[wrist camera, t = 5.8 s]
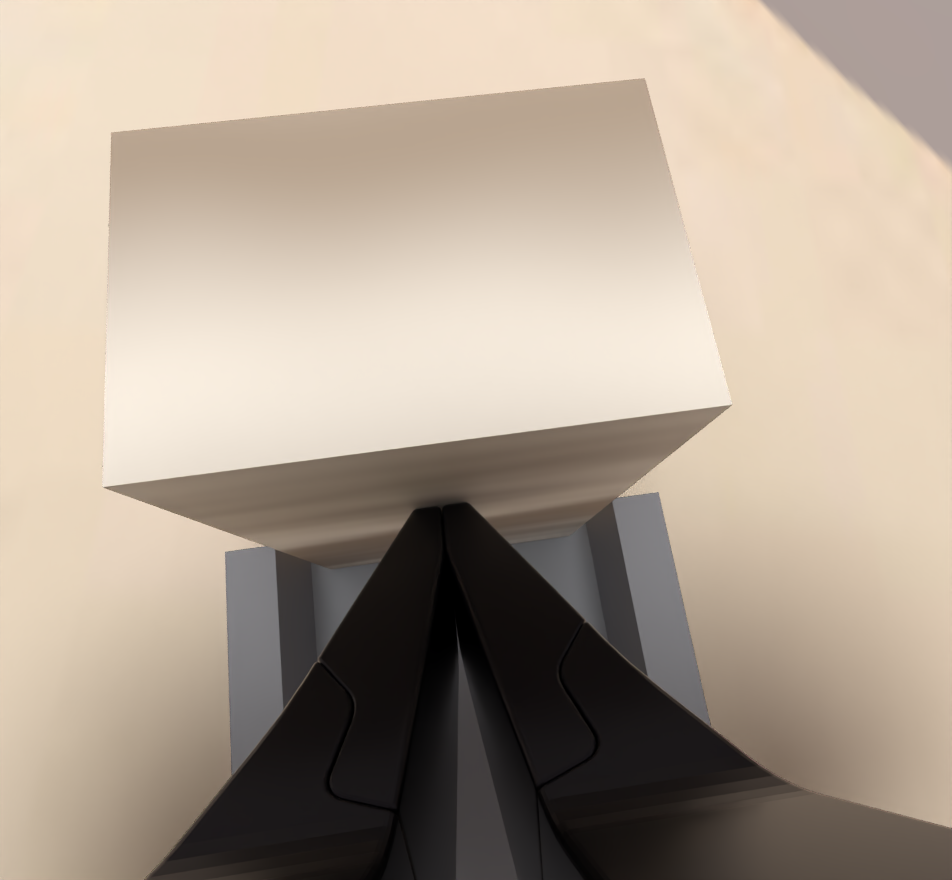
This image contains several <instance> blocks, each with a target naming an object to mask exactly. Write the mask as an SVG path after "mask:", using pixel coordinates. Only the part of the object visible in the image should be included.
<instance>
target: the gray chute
mask: <svg viewBox="0 0 952 880" xmlns="http://www.w3.org/2000/svg"><path fill="white" fill-rule="evenodd" d="M511 545H512V546H513V547H514V548H515V549H516V550H517V551H518V552H519V553H520V554H521V555H522V556H523V557H524V558H525V559H526V560H527V561H528V562H529V563H530V564H531V565H532V566H533V567H534V568H535V569H536V570H537V571H538V572H539V573H540V574H541V575H542V576H543V577H544V578H545V579H546V580H547V581H548V582H549V583H550V584H551V585H552V586H553V587H554V588H555V589H556V590H557V591H558V592H559V593H560V594H561V595H562V596H563V597H564V598H565V599H566V600H567V601H568V602H569V603H570V604H571V605H572V606H573V607H574V608H575V609H576V610H577V611H578V612H579V613H580V614H581V615H582V616H583V617H584V618H585V620H586V622H588V623H590V624H591V625H592V626H593V627H594V628H595V629H596V630H597V631H598V632H599V633H600V634H601V635H602V636H603V637H604V638H605V639H606V640H607V641H608V642H609V643H610V644H611V645H612V646H613V647H614V648H616V649H617V650H618V651H619V652H620V653H621V654H622V655H623V656H624V657H625V658H626V659H627V660H628V661H629V662H630V663H632V664H633V665H634V666H635V667H637V668H638V669H639V670H640V671H641V672H643V673H644V674H645V675H646V676H647V677H649V678H650V679H651V680H652V681H653V682H655V683H656V684H657V685H658V686H660V687H661V688H662V689H663V690H665V691H666V692H667V693H668V694H670V695H671V696H672V697H673V698H675V699H676V700H677V701H679V702H680V703H681V704H682V705H684V706H685V707H686V708H688V709H689V710H690V711H691V712H693V713H694V714H695V715H697V716H698V717H699V718H700V719H702V720H703V721H704V722H705V723H707V724H708V725H709V726H711V724H710V720H709V715H708V711H707V707H706V702H705V698H704V693H703V689H702V684H701V680H700V675H699V671H698V667H697V662H696V658H695V653H694V649H693V644H692V640H691V635H690V631H689V626H688V622H687V618H686V613H685V609H684V604H683V600H682V595H681V591H680V586H679V582H678V578H677V573H676V569H675V564H674V560H673V555H672V551H671V546H670V542H669V537H668V533H667V529H666V524H665V520H664V515H663V511H662V506H661V502H660V497H659V493H658V492H657V493H650V494H642V495H635V496H628V497H620V498H616V499H615V500H613V501H612V502H611V503H610V504H608V505H607V506H606V507H605V508H603V509H602V510H601V511H600V512H598V513H597V514H596V515H595V516H593V517H592V518H591V519H590V520H588V521H587V522H586V523H585V524H583V525H582V526H581V527H580V528H578V529H577V530H576V531H575V532H573V533H572V534H571V535H570V536H565V537H558V538H551V539H544V540H537V541H529V542H522V543H515V544H511ZM225 564H226V598H227V633H228V667H229V701H230V736H231V770H232V775H233V774H234V773H235V771H236V770H237V769H238V768H239V766H240V765H241V764H242V763H243V761H244V760H245V759H246V758H247V757H248V755H249V754H250V753H251V752H252V750H253V749H254V748H255V746H256V745H257V744H258V742H259V741H260V740H261V739H262V737H263V736H264V735H265V733H266V732H267V731H268V729H269V728H270V727H271V726H272V724H273V723H274V722H275V720H276V719H277V718H278V717H279V715H280V714H281V712H282V711H283V709H284V708H285V706H286V705H287V704H288V702H289V701H290V699H291V698H292V696H293V695H294V693H295V692H296V690H297V689H298V688H299V686H300V685H301V683H302V682H303V680H304V679H305V677H306V675H307V674H308V672H309V671H310V669H311V668H312V666H313V664H314V663H315V662H318V657H319V656H320V654H321V653H322V651H323V649H324V648H325V646H326V645H327V643H328V642H329V640H330V639H331V637H332V635H333V634H334V632H335V631H336V629H337V628H338V626H339V625H340V623H341V621H342V620H343V618H344V617H345V615H346V614H347V612H348V611H349V609H350V608H351V606H352V604H353V603H354V601H355V600H356V598H357V597H358V595H359V594H360V592H361V590H362V589H363V587H364V586H365V584H366V583H367V581H368V580H369V578H370V576H371V575H372V573H373V572H374V570H375V569H376V567H377V566H378V564H379V563H373V564H366V565H358V566H351V567H344V568H337V569H328V568H326V567H323V566H320V565H317V564H315V563H312V562H309V561H306V560H303V559H301V558H298V557H295V556H292V555H289V554H287V553H284V552H281V551H278V550H276V549H273V548H270V547H267V546H265V547H257V548H250V549H243V550H236V551H228V552H225ZM456 628H457V627H456ZM457 637H458V634H457ZM458 649H459V700H458V772H457V845H456V880H518V878H517V874H516V870H515V866H514V862H513V858H512V854H511V850H510V846H509V842H508V839H507V835H506V831H505V827H504V823H503V819H502V815H501V811H500V807H499V803H498V799H497V795H496V792H495V788H494V784H493V780H492V776H491V772H490V768H489V764H488V760H487V756H486V752H485V748H484V745H483V741H482V737H481V733H480V729H479V725H478V721H477V717H476V713H475V709H474V705H473V701H472V697H471V694H470V690H469V686H468V682H467V678H466V674H465V670H464V666H463V662H462V657H461V653H460V647H459V640H458Z"/></svg>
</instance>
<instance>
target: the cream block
mask: <svg viewBox="0 0 952 880" xmlns="http://www.w3.org/2000/svg"><path fill="white" fill-rule="evenodd" d="M731 405H732V401H731V397H730V394H729V390H728V386H727V382H726V379H725V375H724V371H723V367H722V364H721V360H720V356H719V353H718V349H717V345H716V341H715V338H714V334H713V330H712V327H711V323H710V319H709V315H708V312H707V308H706V304H705V300H704V297H703V293H702V289H701V286H700V282H699V278H698V274H697V271H696V267H695V263H694V260H693V256H692V252H691V248H690V245H689V241H688V237H687V233H686V230H685V226H684V222H683V219H682V215H681V211H680V207H679V204H678V200H677V196H676V193H675V189H674V185H673V181H672V178H671V174H670V170H669V166H668V163H667V159H666V155H665V152H664V148H663V144H662V140H661V137H660V133H659V129H658V125H657V122H656V118H655V114H654V111H653V107H652V103H651V99H650V96H649V92H648V88H647V85H646V81H645V78H643V79H633V80H623V81H613V82H603V83H594V84H584V85H574V86H564V87H554V88H545V89H535V90H525V91H515V92H505V93H495V94H486V95H476V96H466V97H456V98H446V99H437V100H427V101H417V102H407V103H397V104H388V105H378V106H368V107H358V108H348V109H338V110H329V111H319V112H309V113H299V114H289V115H280V116H270V117H260V118H250V119H240V120H230V121H221V122H211V123H201V124H191V125H181V126H172V127H162V128H152V129H142V130H132V131H123V132H113V133H111V166H110V205H109V245H108V284H107V324H106V363H105V403H104V442H103V481H102V487H103V488H106V489H109V490H112V491H114V492H117V493H120V494H123V495H125V496H128V497H131V498H134V499H137V500H139V501H142V502H145V503H148V504H151V505H153V506H156V507H159V508H162V509H164V510H167V511H170V512H173V513H176V514H178V515H181V516H184V517H187V518H189V519H192V520H195V521H198V522H201V523H203V524H206V525H209V526H212V527H214V528H217V529H220V530H223V531H226V532H228V533H231V534H234V535H237V536H239V537H242V538H245V539H248V540H251V541H253V542H256V543H259V544H262V545H264V546H267V547H270V548H273V549H276V550H278V551H281V552H284V553H287V554H289V555H292V556H295V557H298V558H301V559H303V560H306V561H309V562H312V563H315V564H317V565H320V566H323V567H326V568H328V569H337V568H344V567H351V566H358V565H366V564H373V563H379V562H380V561H381V559H382V558H383V556H384V555H385V553H386V552H387V550H388V548H389V547H390V545H391V544H392V542H393V541H394V539H395V538H396V536H397V534H398V533H399V531H400V530H401V528H402V527H403V525H404V524H405V522H406V521H407V519H408V517H409V516H410V514H411V513H412V511H413V510H415V509H419V508H427V507H434V506H438V507H440V508H441V511H442V508H443V506H445V505H449V504H456V503H463V502H467V503H470V504H471V505H472V506H473V507H474V508H475V509H476V510H477V511H478V512H479V513H480V514H481V515H482V516H483V517H484V518H485V519H486V520H487V521H488V522H489V523H490V524H491V525H492V526H493V527H494V528H495V529H496V530H497V531H498V532H499V533H500V534H501V535H502V536H503V537H504V538H505V539H506V540H507V541H508V542H509V543H510V544H515V543H522V542H529V541H537V540H544V539H551V538H558V537H565V536H570V535H571V534H572V533H573V532H575V531H576V530H577V529H578V528H580V527H581V526H582V525H583V524H585V523H586V522H587V521H588V520H590V519H591V518H592V517H593V516H595V515H596V514H597V513H598V512H600V511H601V510H602V509H603V508H605V507H606V506H607V505H608V504H610V503H611V502H612V501H613V500H615V499H616V498H617V497H618V496H619V495H621V494H622V493H623V492H624V491H626V490H627V489H628V488H629V487H631V486H632V485H633V484H634V483H636V482H637V481H638V480H639V479H641V478H642V477H643V476H644V475H646V474H647V473H648V472H649V471H651V470H652V469H653V468H654V467H656V466H657V465H658V464H659V463H661V462H662V461H663V460H664V459H665V458H667V457H668V456H669V455H670V454H672V453H673V452H674V451H675V450H677V449H678V448H679V447H680V446H682V445H683V444H684V443H685V442H687V441H688V440H689V439H690V438H692V437H693V436H694V435H695V434H697V433H698V432H699V431H700V430H702V429H703V428H704V427H705V426H707V425H708V424H709V423H710V422H712V421H713V420H714V419H715V418H716V417H718V416H719V415H720V414H721V413H723V412H724V411H725V410H726V409H728V408H729V407H730V406H731Z"/></svg>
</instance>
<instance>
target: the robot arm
mask: <svg viewBox="0 0 952 880" xmlns="http://www.w3.org/2000/svg"><path fill="white" fill-rule="evenodd" d="M456 627H457V628H456ZM457 634H458V637H457ZM458 640H459V647H460V653H461V657H462V662H463V666H464V670H465V674H466V678H467V682H468V686H469V690H470V694H471V697H472V701H473V705H474V709H475V713H476V717H477V721H478V725H479V729H480V733H481V737H482V741H483V745H484V748H485V752H486V756H487V760H488V764H489V768H490V772H491V776H492V780H493V784H494V788H495V792H496V795H497V799H498V803H499V807H500V811H501V815H502V819H503V823H504V827H505V831H506V835H507V839H508V842H509V846H510V850H511V854H512V858H513V862H514V866H515V870H516V874H517V878H518V880H952V828H949V827H945V826H942V825H938V824H934V823H930V822H926V821H923V820H919V819H915V818H911V817H907V816H903V815H900V814H896V813H892V812H888V811H884V810H881V809H877V808H873V807H869V806H865V805H861V804H858V803H854V802H850V801H846V800H842V799H839V798H835V797H831V796H827V795H823V794H820V793H816V792H813V791H810V790H807V789H804V788H802V787H800V786H797V785H795V784H793V783H791V782H789V781H787V780H785V779H783V778H781V777H779V776H778V775H776V774H774V773H773V772H771V771H770V770H768V769H766V768H765V767H763V766H762V765H760V764H759V763H757V762H756V761H755V760H753V759H752V758H751V757H749V756H748V755H746V754H745V753H744V752H743V751H741V750H740V749H739V748H737V747H736V746H735V745H734V744H732V743H731V742H730V741H729V740H727V739H726V738H725V737H723V736H722V735H721V734H720V733H718V732H717V731H716V730H714V729H713V728H712V727H711V726H709V725H708V724H707V723H705V722H704V721H703V720H702V719H700V718H699V717H698V716H697V715H695V714H694V713H693V712H691V711H690V710H689V709H688V708H686V707H685V706H684V705H682V704H681V703H680V702H679V701H677V700H676V699H675V698H673V697H672V696H671V695H670V694H668V693H667V692H666V691H665V690H663V689H662V688H661V687H660V686H658V685H657V684H656V683H655V682H653V681H652V680H651V679H650V678H649V677H647V676H646V675H645V674H644V673H643V672H641V671H640V670H639V669H638V668H637V667H635V666H634V665H633V664H632V663H630V662H629V661H628V660H627V659H626V658H625V657H624V656H623V655H622V654H621V653H620V652H619V651H618V650H617V649H616V648H614V647H613V646H612V645H611V644H610V643H609V642H608V641H607V640H606V639H605V638H604V637H603V636H602V635H601V634H600V633H599V632H598V631H597V630H596V629H595V628H594V627H593V626H592V625H591V624H590V623H588V622H586V620H585V618H584V617H583V616H582V615H581V614H580V613H579V612H578V611H577V610H576V609H575V608H574V607H573V606H572V605H571V604H570V603H569V602H568V601H567V600H566V599H565V598H564V597H563V596H562V595H561V594H560V593H559V592H558V591H557V590H556V589H555V588H554V587H553V586H552V585H551V584H550V583H549V582H548V581H547V580H546V579H545V578H544V577H543V576H542V575H541V574H540V573H539V572H538V571H537V570H536V569H535V568H534V567H533V566H532V565H531V564H530V563H529V562H528V561H527V560H526V559H525V558H524V557H523V556H522V555H521V554H520V553H519V552H518V551H517V550H516V549H515V548H514V547H513V546H512V545H511V544H510V543H509V542H508V541H507V540H506V539H505V538H504V537H503V536H502V535H501V534H500V533H499V532H498V531H497V530H496V529H495V528H494V527H493V526H492V525H491V524H490V523H489V522H488V521H487V520H486V519H485V518H484V517H483V516H482V515H481V514H480V513H479V512H478V511H477V510H476V509H475V508H474V507H473V506H472V505H471V504H470V503H467V502H463V503H456V504H449V505H445V506H443V508H442V511H441V508H440V507H438V506H434V507H427V508H419V509H415V510H413V511H412V513H411V514H410V516H409V517H408V519H407V521H406V522H405V524H404V525H403V527H402V528H401V530H400V531H399V533H398V534H397V536H396V538H395V539H394V541H393V542H392V544H391V545H390V547H389V548H388V550H387V552H386V553H385V555H384V556H383V558H382V559H381V561H380V562H379V564H378V566H377V567H376V569H375V570H374V572H373V573H372V575H371V576H370V578H369V580H368V581H367V583H366V584H365V586H364V587H363V589H362V590H361V592H360V594H359V595H358V597H357V598H356V600H355V601H354V603H353V604H352V606H351V608H350V609H349V611H348V612H347V614H346V615H345V617H344V618H343V620H342V621H341V623H340V625H339V626H338V628H337V629H336V631H335V632H334V634H333V635H332V637H331V639H330V640H329V642H328V643H327V645H326V646H325V648H324V649H323V651H322V653H321V654H320V656H319V657H318V662H315V663H314V664H313V666H312V668H311V669H310V671H309V672H308V674H307V675H306V677H305V679H304V680H303V682H302V683H301V685H300V686H299V688H298V689H297V690H296V692H295V693H294V695H293V696H292V698H291V699H290V701H289V702H288V704H287V705H286V706H285V708H284V709H283V711H282V712H281V714H280V715H279V717H278V718H277V719H276V720H275V722H274V723H273V724H272V726H271V727H270V728H269V729H268V731H267V732H266V733H265V735H264V736H263V737H262V739H261V740H260V741H259V742H258V744H257V745H256V746H255V748H254V749H253V750H252V752H251V753H250V754H249V755H248V757H247V758H246V759H245V760H244V761H243V763H242V764H241V765H240V766H239V768H238V769H237V770H236V771H235V773H234V774H233V775H232V776H231V777H230V779H229V780H228V781H227V782H226V784H225V785H224V786H223V787H222V789H221V790H220V791H219V792H218V794H217V795H216V796H215V797H214V798H213V800H212V801H211V802H210V803H209V805H208V806H207V807H206V808H205V810H204V811H203V812H202V813H201V814H200V816H199V817H198V818H197V819H196V821H195V822H194V823H193V824H192V826H191V827H190V828H189V829H188V831H187V832H186V833H185V834H184V835H183V837H182V838H181V839H180V840H179V842H178V843H177V844H176V845H175V846H174V848H173V849H172V850H171V851H170V852H169V853H168V855H167V856H166V857H165V858H164V859H163V860H162V861H161V863H160V864H159V865H158V866H157V867H156V868H155V869H154V870H153V871H152V872H151V873H150V874H149V875H148V876H147V877H146V878H145V879H144V880H456V845H457V772H458V700H459V649H458Z"/></svg>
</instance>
